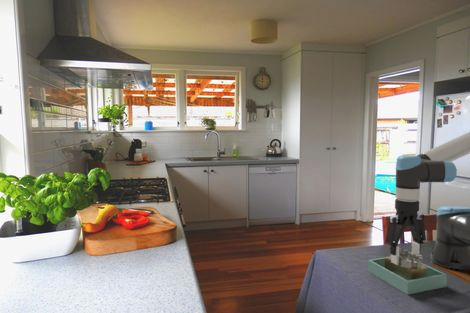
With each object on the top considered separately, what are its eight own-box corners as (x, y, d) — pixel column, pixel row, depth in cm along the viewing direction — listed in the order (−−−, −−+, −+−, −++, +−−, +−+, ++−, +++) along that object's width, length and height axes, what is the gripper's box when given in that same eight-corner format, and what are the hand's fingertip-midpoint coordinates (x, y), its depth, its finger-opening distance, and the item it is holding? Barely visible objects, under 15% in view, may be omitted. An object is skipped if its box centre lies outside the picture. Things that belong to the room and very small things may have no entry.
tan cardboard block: (399, 269, 121) (400, 254, 120) (426, 284, 109) (427, 267, 109) (384, 272, 119) (384, 256, 118) (410, 287, 107) (411, 270, 107)
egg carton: (424, 268, 108) (425, 256, 108) (402, 268, 108) (403, 257, 108) (407, 256, 119) (407, 245, 118) (387, 256, 119) (387, 245, 118)
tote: (402, 266, 125) (403, 254, 125) (446, 288, 107) (446, 274, 107) (367, 272, 120) (367, 259, 120) (407, 296, 103) (407, 282, 102)
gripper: (421, 195, 118) (419, 254, 120) (374, 199, 112) (373, 261, 114) (439, 199, 111) (437, 262, 113) (390, 204, 105) (388, 270, 107)
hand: (405, 261), depth 113 cm, fingers closed on egg carton, 8 cm apart
